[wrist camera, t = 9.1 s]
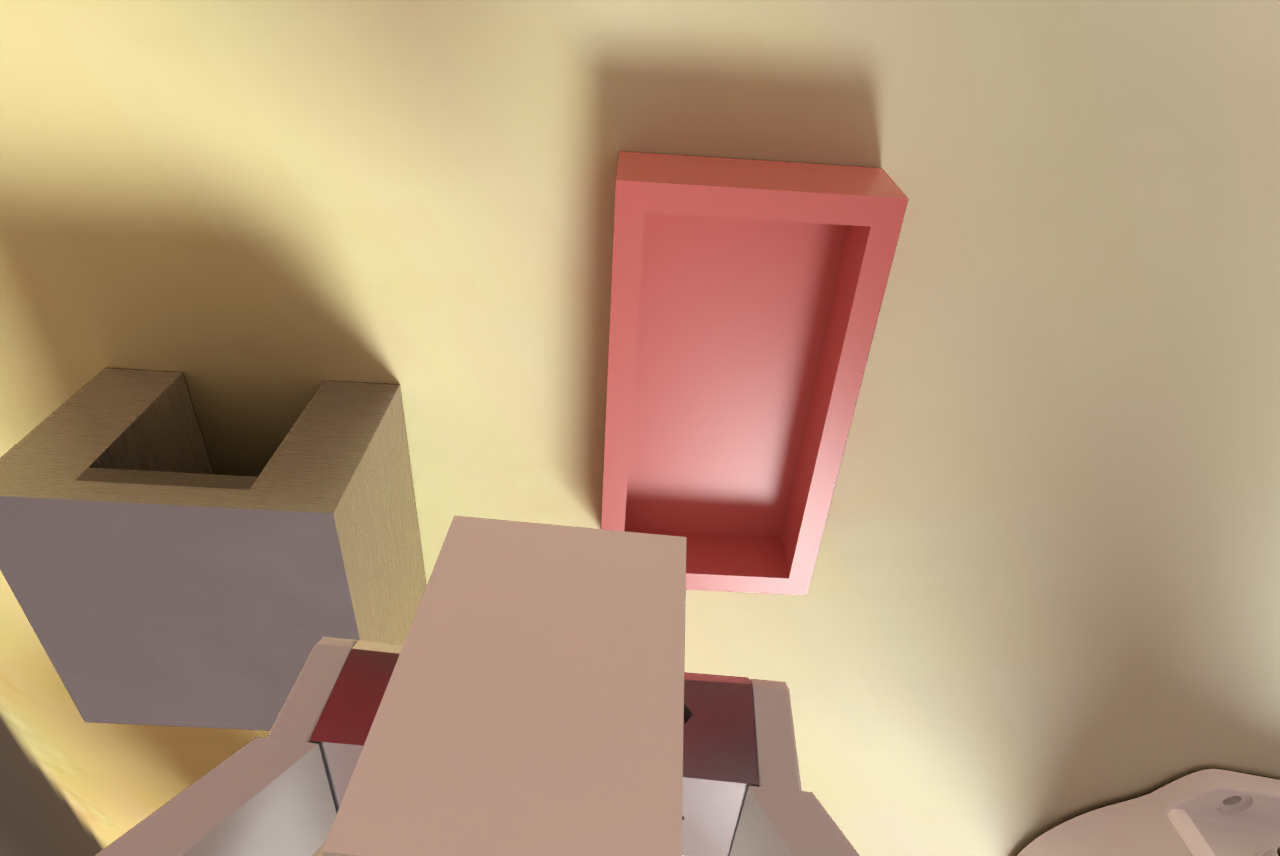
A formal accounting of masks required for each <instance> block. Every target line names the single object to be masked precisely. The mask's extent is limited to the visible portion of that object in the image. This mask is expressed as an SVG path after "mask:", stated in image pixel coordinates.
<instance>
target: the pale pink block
mask: <svg viewBox="0 0 1280 856" xmlns="http://www.w3.org/2000/svg"><path fill="white" fill-rule="evenodd" d="M685 597H686V537H680V536H669V535H658V534H647V533H636V532H625V531H615V530H604V529H593V528H582V527H571V526H560V525H550V524H539V523H528V522H517V521H506V520H495V519H485V518H474V517H463V516H454V518H453V521H452V523H451V526H450V528H449V531H448V533H447V536H446V538H445V541H444V543H443V546H442V549H441V551H440V554H439V556H438V559H437V561H436V564H435V566H434V569H433V571H432V574H431V576H430V579H429V581H428V584H427V587H426V589H425V592H424V594H423V597H422V599H421V602H420V604H419V607H418V609H417V612H416V614H415V617H414V620H413V622H412V625H411V627H410V630H409V632H408V635H407V637H406V640H405V642H404V645H403V647H402V650H401V652H400V655H399V658H398V660H397V663H396V665H395V668H394V670H393V673H392V675H391V678H390V680H389V683H388V685H387V688H386V691H385V693H384V696H383V698H382V701H381V703H380V706H379V708H378V711H377V713H376V716H375V718H374V721H373V723H372V726H371V729H370V731H369V734H368V736H367V739H366V741H365V744H364V746H363V749H362V751H361V754H360V756H359V759H358V762H357V764H356V767H355V769H354V772H353V774H352V777H351V779H350V782H349V784H348V787H347V789H346V792H345V795H344V797H343V800H342V802H341V805H340V807H339V810H338V812H337V815H336V817H335V820H334V822H333V825H332V827H331V830H330V833H329V835H328V838H327V840H326V843H325V845H324V848H323V850H322V853H323V856H681V852H682V789H683V725H684V661H685Z"/></svg>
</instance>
